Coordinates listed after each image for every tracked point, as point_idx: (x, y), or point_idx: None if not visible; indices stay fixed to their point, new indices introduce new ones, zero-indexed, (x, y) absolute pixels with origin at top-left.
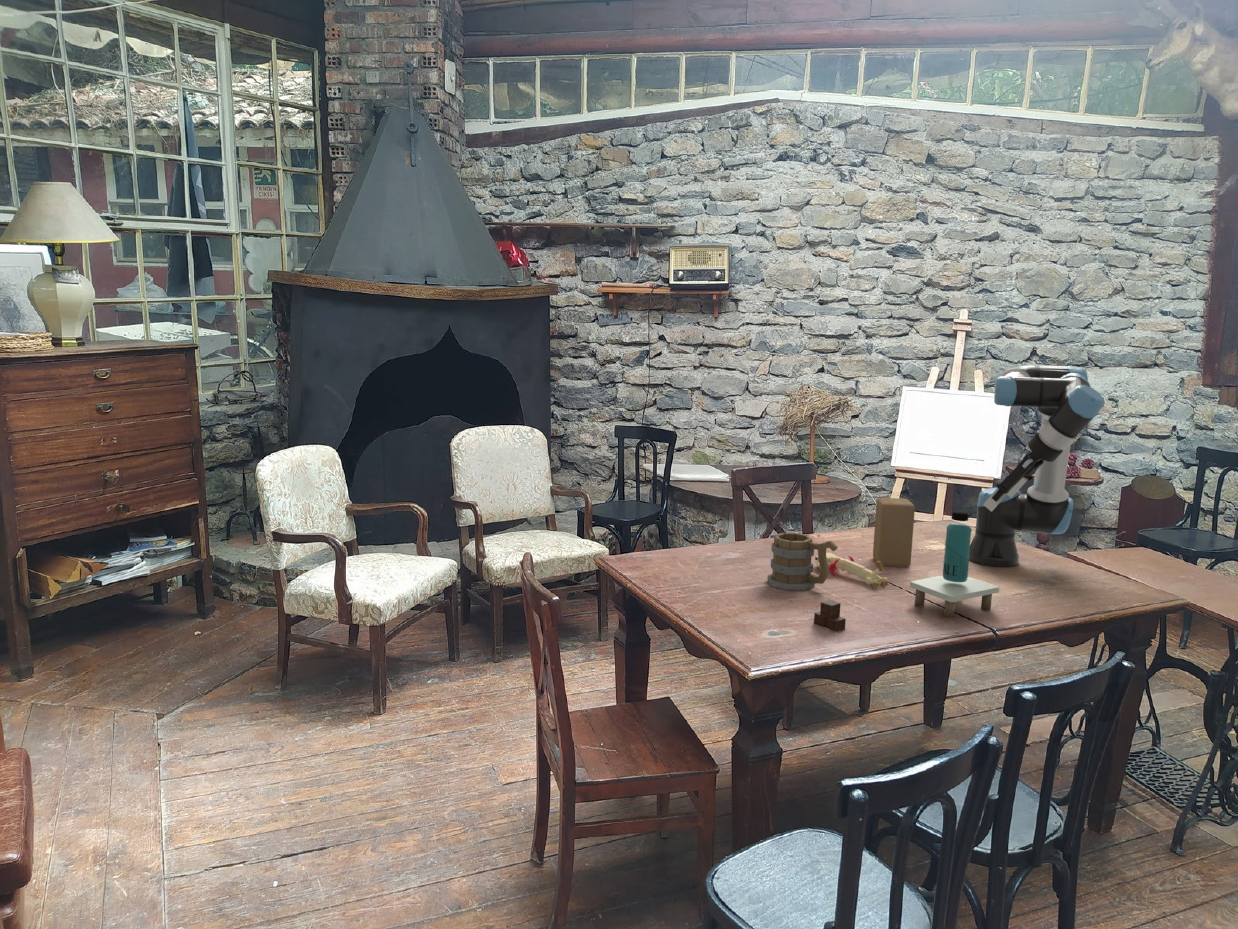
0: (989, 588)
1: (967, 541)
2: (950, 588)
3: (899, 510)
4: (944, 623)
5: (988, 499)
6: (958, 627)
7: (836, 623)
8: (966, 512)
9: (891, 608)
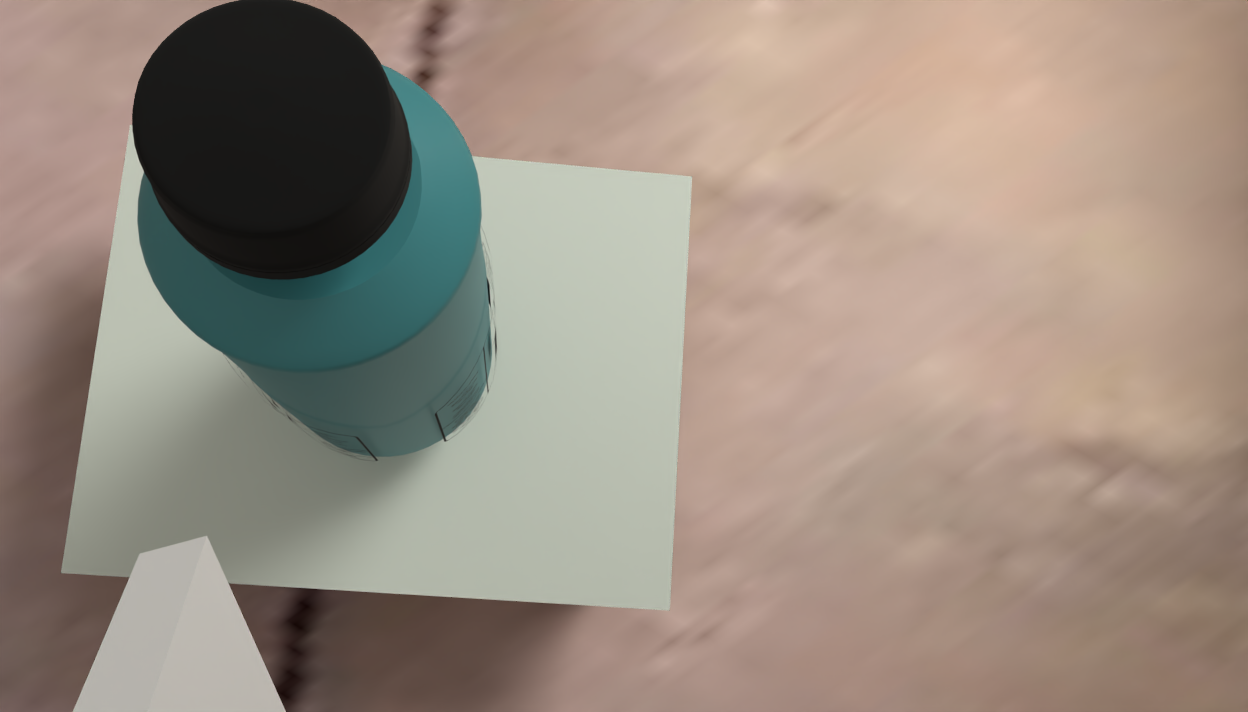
0: (560, 591)
1: (317, 392)
2: (261, 419)
3: None
4: (52, 588)
5: (97, 694)
6: (64, 698)
7: None
8: (335, 178)
9: (5, 181)
